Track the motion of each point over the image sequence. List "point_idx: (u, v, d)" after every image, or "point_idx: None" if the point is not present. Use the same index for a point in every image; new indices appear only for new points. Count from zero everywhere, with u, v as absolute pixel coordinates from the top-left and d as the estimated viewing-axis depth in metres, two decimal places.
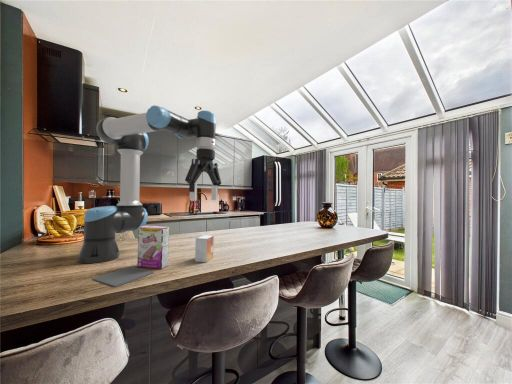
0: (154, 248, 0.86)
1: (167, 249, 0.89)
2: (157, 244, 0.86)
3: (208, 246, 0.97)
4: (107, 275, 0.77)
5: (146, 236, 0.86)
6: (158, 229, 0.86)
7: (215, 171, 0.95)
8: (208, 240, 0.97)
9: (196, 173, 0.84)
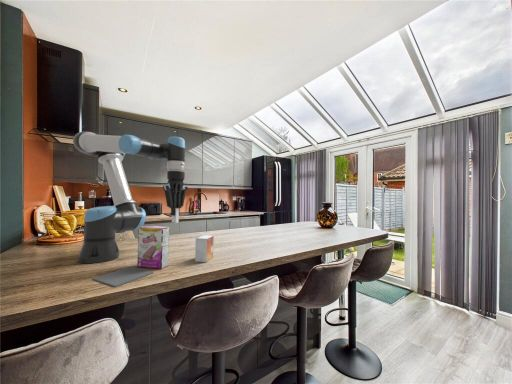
0: (154, 248, 0.86)
1: (167, 249, 0.89)
2: (157, 244, 0.86)
3: (208, 246, 0.97)
4: (107, 275, 0.77)
5: (146, 236, 0.86)
6: (158, 229, 0.86)
7: (182, 193, 1.02)
8: (208, 240, 0.97)
9: (172, 197, 0.97)
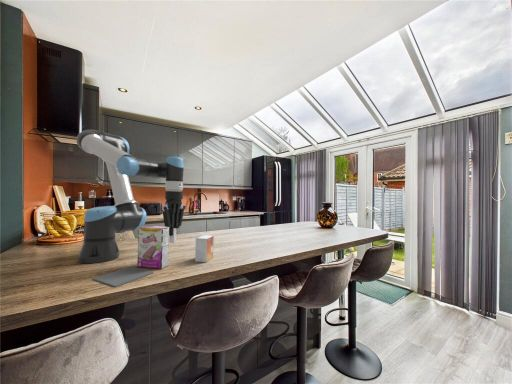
0: (154, 248, 0.86)
1: (167, 249, 0.89)
2: (157, 244, 0.86)
3: (208, 246, 0.97)
4: (107, 275, 0.77)
5: (146, 236, 0.86)
6: (158, 229, 0.86)
7: (180, 212, 1.01)
8: (208, 240, 0.97)
9: (170, 218, 0.96)
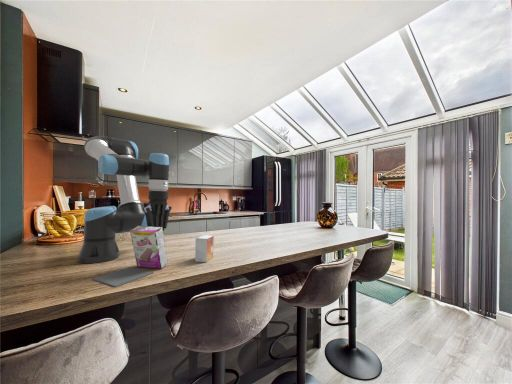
0: (150, 251, 0.84)
1: (163, 248, 0.86)
2: (153, 247, 0.83)
3: (208, 246, 0.97)
4: (107, 275, 0.77)
5: (139, 239, 0.83)
6: (150, 233, 0.81)
7: (166, 213, 0.94)
8: (208, 240, 0.97)
9: (154, 220, 0.89)
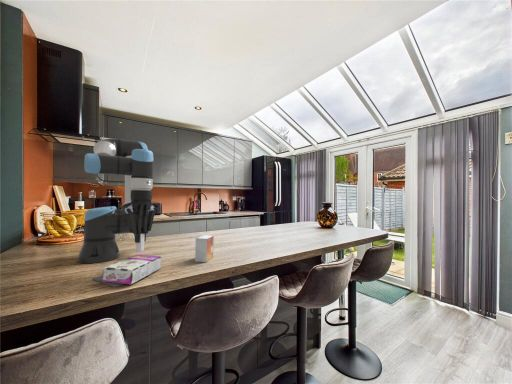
0: None
1: (150, 265, 0.78)
2: None
3: (208, 246, 0.97)
4: None
5: None
6: (127, 283, 0.70)
7: (150, 214, 0.87)
8: (208, 240, 0.97)
9: (136, 222, 0.81)
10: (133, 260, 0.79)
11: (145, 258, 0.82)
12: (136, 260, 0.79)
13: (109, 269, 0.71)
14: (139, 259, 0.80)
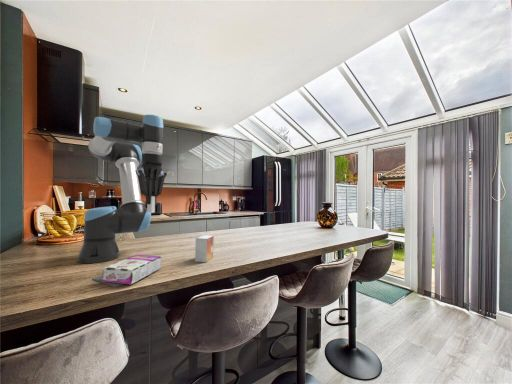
0: None
1: (150, 265, 0.78)
2: None
3: (208, 246, 0.97)
4: None
5: None
6: (127, 283, 0.70)
7: (160, 179, 0.90)
8: (208, 240, 0.97)
9: (147, 184, 0.85)
10: (133, 260, 0.79)
11: (145, 258, 0.82)
12: (136, 260, 0.79)
13: (109, 269, 0.71)
14: (139, 259, 0.80)
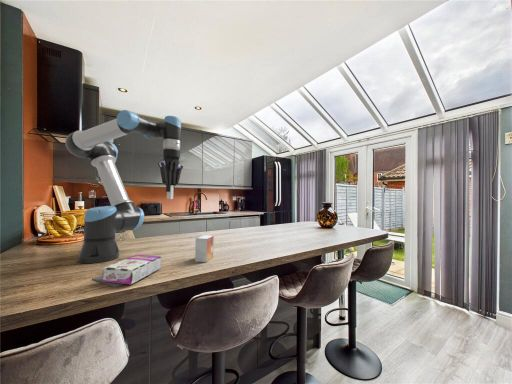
0: None
1: (150, 265, 0.78)
2: None
3: (208, 246, 0.97)
4: None
5: None
6: (127, 283, 0.70)
7: (178, 171, 1.06)
8: (208, 240, 0.97)
9: (167, 175, 1.01)
10: (133, 260, 0.79)
11: (145, 258, 0.82)
12: (136, 260, 0.79)
13: (109, 269, 0.71)
14: (139, 259, 0.80)
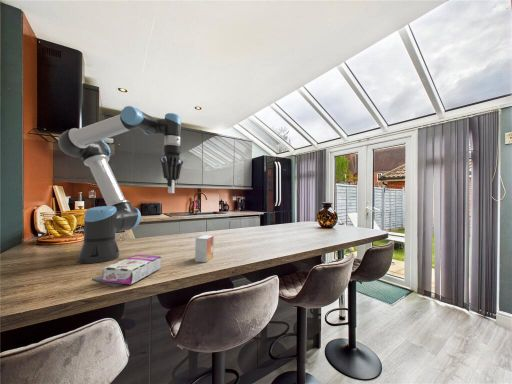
0: None
1: (150, 265, 0.78)
2: None
3: (208, 246, 0.97)
4: None
5: None
6: (127, 283, 0.70)
7: (178, 166, 1.10)
8: (208, 240, 0.97)
9: (169, 170, 1.05)
10: (133, 260, 0.79)
11: (145, 258, 0.82)
12: (136, 260, 0.79)
13: (109, 269, 0.71)
14: (139, 259, 0.80)
